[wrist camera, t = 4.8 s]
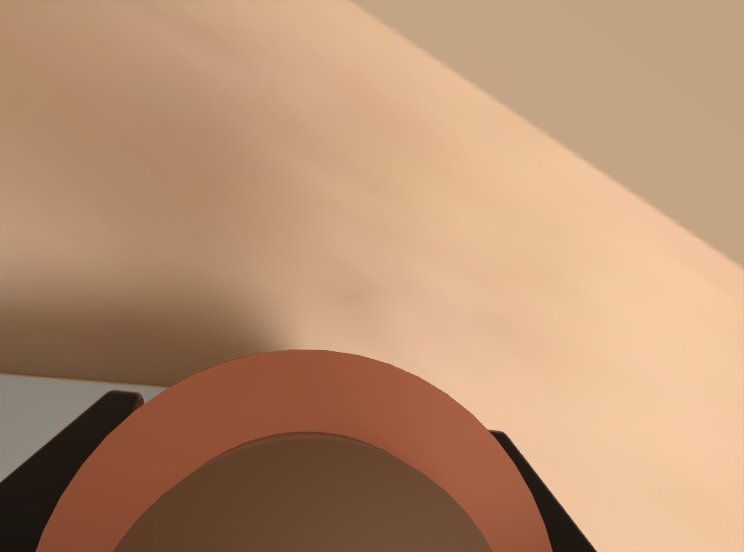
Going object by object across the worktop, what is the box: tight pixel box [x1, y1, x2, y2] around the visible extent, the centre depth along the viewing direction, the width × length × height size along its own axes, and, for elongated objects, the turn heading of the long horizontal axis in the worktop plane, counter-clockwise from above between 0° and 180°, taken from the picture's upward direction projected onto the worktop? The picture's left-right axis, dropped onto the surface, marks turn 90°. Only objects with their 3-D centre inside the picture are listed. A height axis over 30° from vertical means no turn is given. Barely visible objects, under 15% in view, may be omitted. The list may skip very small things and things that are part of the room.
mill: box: [36, 350, 552, 552], centre depth 10 cm, size 4×4×11 cm
